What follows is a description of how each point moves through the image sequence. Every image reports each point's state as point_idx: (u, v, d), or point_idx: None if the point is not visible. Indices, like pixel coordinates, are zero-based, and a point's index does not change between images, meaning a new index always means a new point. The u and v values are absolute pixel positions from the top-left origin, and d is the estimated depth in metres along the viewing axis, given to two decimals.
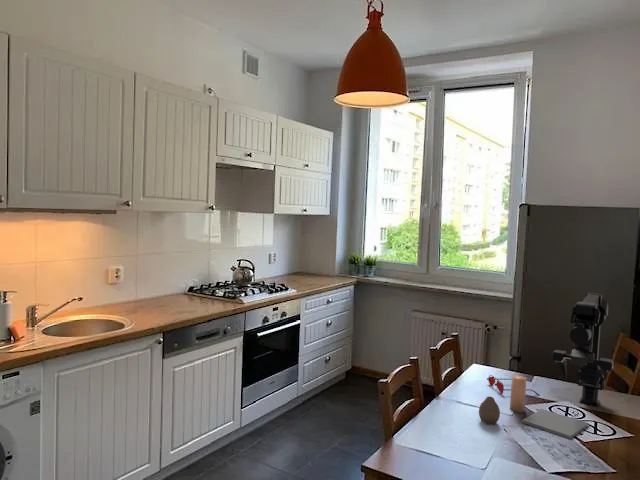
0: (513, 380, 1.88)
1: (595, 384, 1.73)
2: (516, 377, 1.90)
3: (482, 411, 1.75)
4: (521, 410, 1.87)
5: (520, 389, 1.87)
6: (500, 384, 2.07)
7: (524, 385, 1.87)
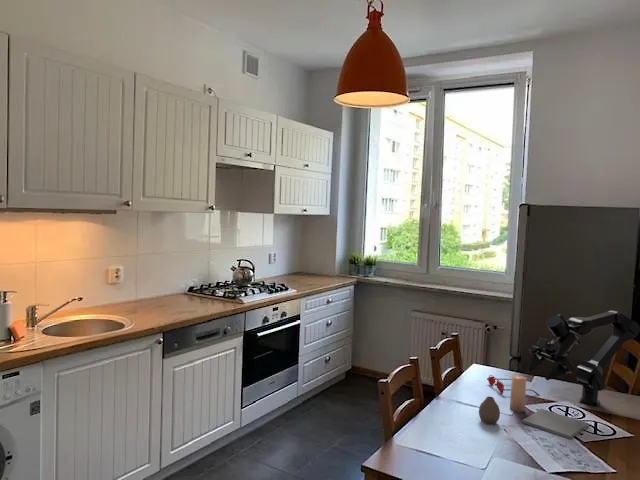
0: (513, 380, 1.88)
1: (547, 375, 1.87)
2: (516, 377, 1.90)
3: (482, 411, 1.75)
4: (521, 410, 1.87)
5: (520, 389, 1.87)
6: (500, 384, 2.07)
7: (524, 385, 1.87)
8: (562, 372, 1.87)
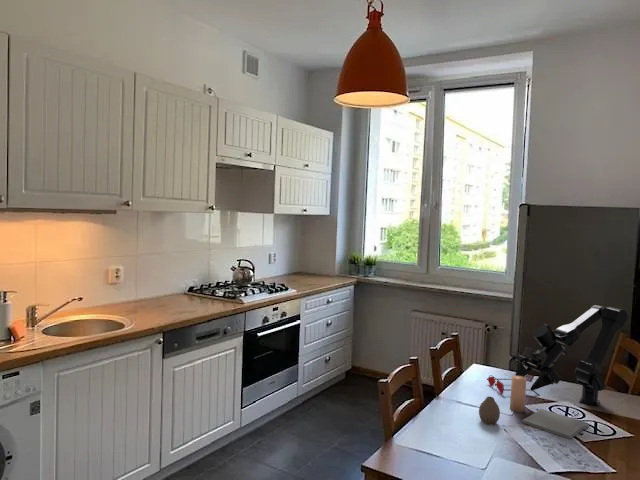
0: (513, 380, 1.88)
1: (532, 385, 1.85)
2: (516, 377, 1.90)
3: (482, 411, 1.75)
4: (521, 410, 1.87)
5: (520, 389, 1.87)
6: (500, 384, 2.06)
7: (524, 385, 1.87)
8: (547, 383, 1.85)
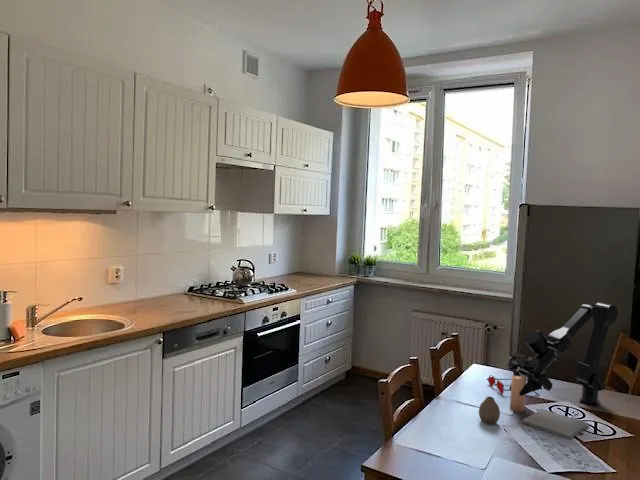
0: (513, 380, 1.88)
1: (521, 391, 1.86)
2: (516, 377, 1.90)
3: (482, 411, 1.75)
4: (521, 410, 1.87)
5: (520, 389, 1.87)
6: (500, 384, 2.06)
7: (524, 385, 1.87)
8: (536, 388, 1.86)
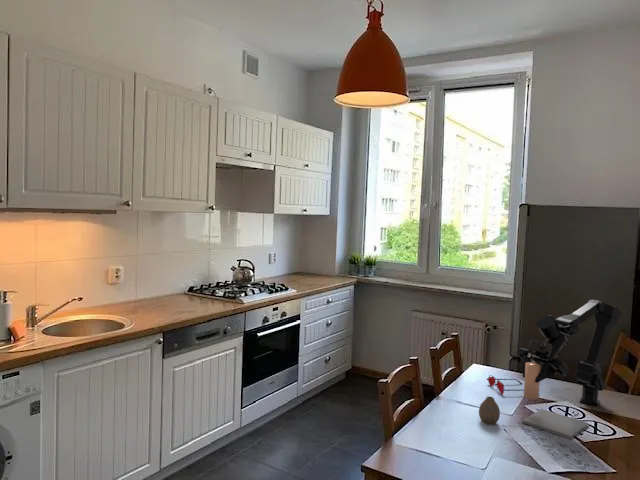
0: (528, 367, 1.82)
1: (537, 377, 1.81)
2: (530, 363, 1.84)
3: (482, 411, 1.75)
4: (536, 397, 1.82)
5: (536, 376, 1.81)
6: (500, 384, 2.06)
7: (539, 371, 1.82)
8: (551, 373, 1.81)
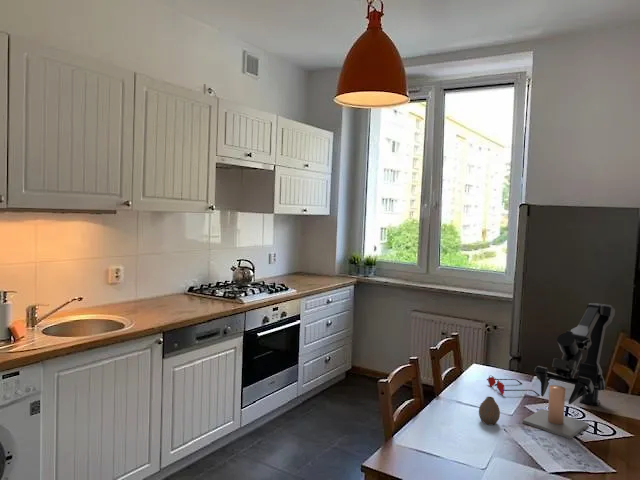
0: (554, 391, 1.75)
1: (570, 399, 1.73)
2: (554, 387, 1.77)
3: (482, 411, 1.75)
4: (562, 422, 1.76)
5: (562, 400, 1.75)
6: (500, 384, 2.06)
7: (564, 395, 1.76)
8: (581, 393, 1.75)
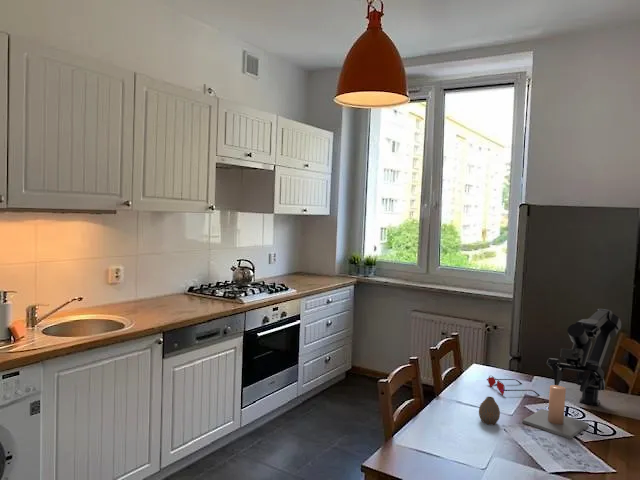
0: (554, 391, 1.75)
1: (581, 386, 1.79)
2: (555, 387, 1.77)
3: (482, 411, 1.75)
4: (562, 422, 1.76)
5: (563, 400, 1.75)
6: (501, 384, 2.06)
7: None
8: (593, 380, 1.80)
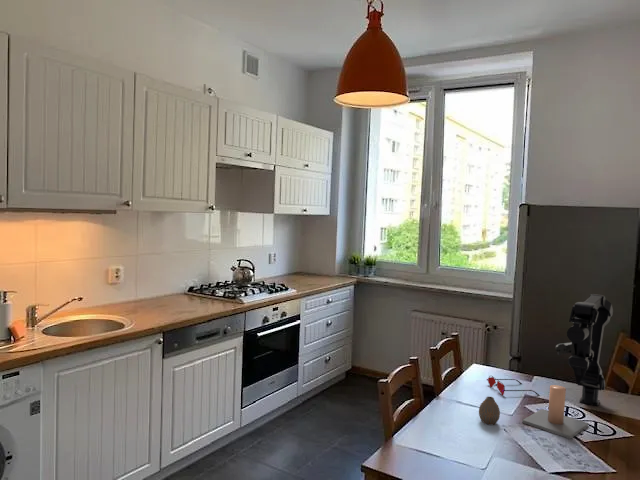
0: (555, 391, 1.75)
1: None
2: (555, 387, 1.77)
3: (482, 411, 1.75)
4: (562, 422, 1.76)
5: (563, 400, 1.75)
6: (501, 385, 2.06)
7: None
8: (584, 369, 1.79)
